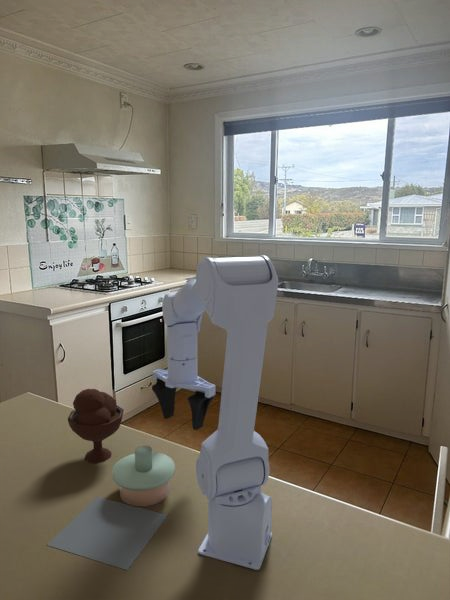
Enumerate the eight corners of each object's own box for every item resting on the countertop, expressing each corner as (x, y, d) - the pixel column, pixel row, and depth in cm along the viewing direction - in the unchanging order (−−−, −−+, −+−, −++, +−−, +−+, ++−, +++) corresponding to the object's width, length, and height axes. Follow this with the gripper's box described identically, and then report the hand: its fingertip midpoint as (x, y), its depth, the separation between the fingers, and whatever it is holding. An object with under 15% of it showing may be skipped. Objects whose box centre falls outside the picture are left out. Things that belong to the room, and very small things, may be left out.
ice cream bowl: (112, 474, 87) (109, 401, 84) (59, 467, 89) (55, 396, 86) (133, 446, 97) (131, 381, 94) (86, 441, 99) (82, 376, 97)
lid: (184, 462, 84) (184, 440, 83) (156, 496, 74) (155, 472, 73) (133, 451, 88) (132, 430, 87) (99, 482, 78) (98, 459, 77)
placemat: (168, 516, 75) (168, 514, 75) (127, 571, 64) (127, 570, 63) (97, 497, 80) (97, 496, 80) (47, 546, 68) (47, 545, 68)
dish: (178, 482, 85) (178, 463, 84) (155, 511, 76) (154, 490, 75) (136, 473, 87) (135, 454, 87) (109, 500, 79) (108, 479, 78)
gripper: (140, 353, 87) (142, 419, 89) (198, 369, 78) (198, 441, 81) (166, 345, 92) (167, 407, 95) (222, 359, 84) (221, 427, 87)
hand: (183, 422), depth 88 cm, fingers open, 7 cm apart
